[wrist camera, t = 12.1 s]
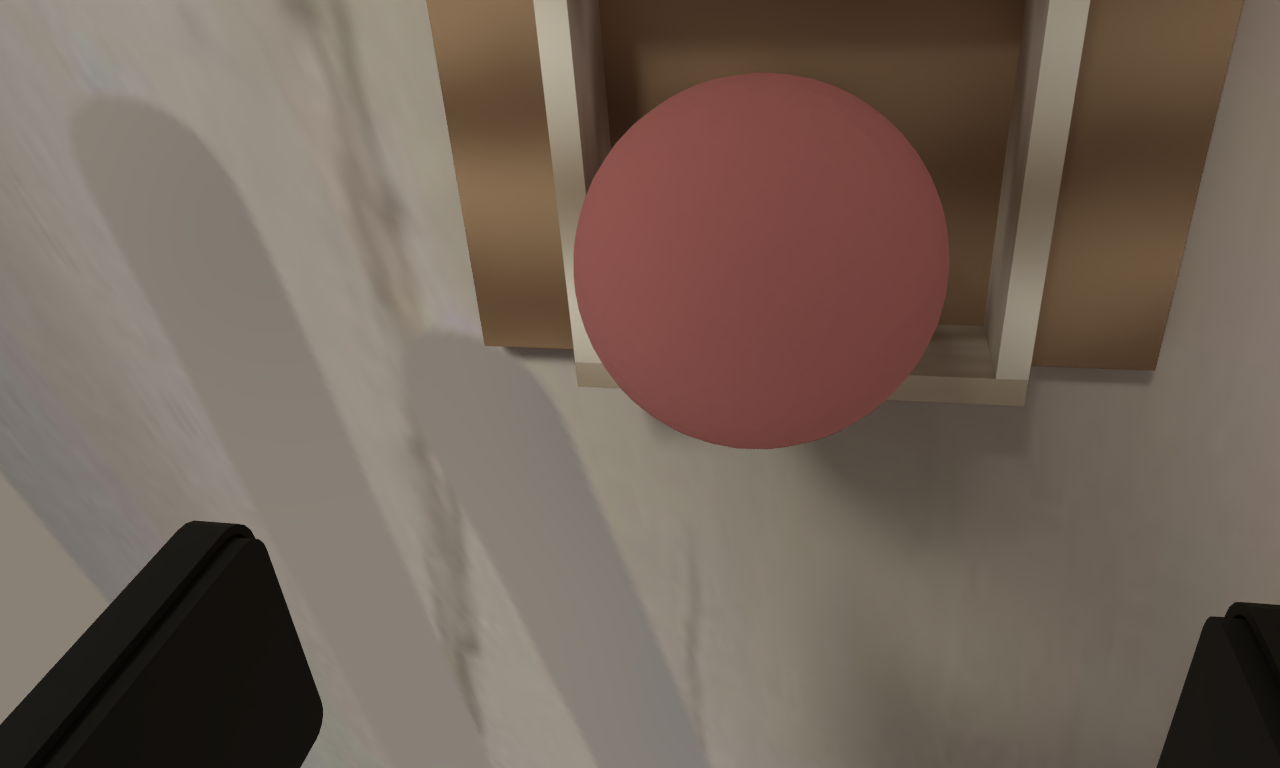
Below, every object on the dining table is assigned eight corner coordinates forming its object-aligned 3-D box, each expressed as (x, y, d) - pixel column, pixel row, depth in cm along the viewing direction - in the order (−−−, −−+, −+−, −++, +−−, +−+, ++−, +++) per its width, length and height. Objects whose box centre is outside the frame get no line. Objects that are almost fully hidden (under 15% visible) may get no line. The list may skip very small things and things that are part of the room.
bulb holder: (424, -105, 25) (357, -92, 22) (1265, -160, 21) (1341, -155, 18) (494, 331, 32) (451, 393, 28) (1146, 353, 28) (1185, 428, 24)
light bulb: (605, 89, 26) (443, 271, 16) (846, -63, 23) (835, 42, 13) (736, 299, 28) (668, 573, 18) (968, 187, 25) (1041, 440, 15)
